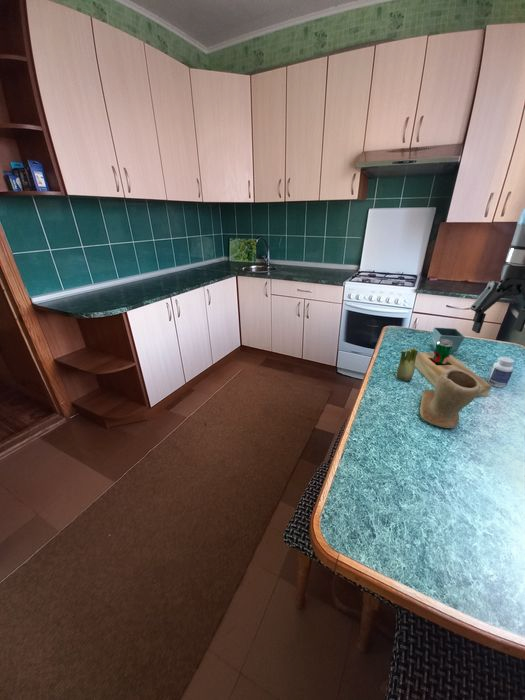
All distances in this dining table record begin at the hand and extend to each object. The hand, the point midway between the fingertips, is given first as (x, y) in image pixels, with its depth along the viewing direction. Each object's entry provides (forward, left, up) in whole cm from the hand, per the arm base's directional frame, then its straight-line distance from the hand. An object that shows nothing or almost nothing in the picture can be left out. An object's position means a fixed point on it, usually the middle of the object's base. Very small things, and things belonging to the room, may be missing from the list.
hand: (496, 331), depth 94 cm
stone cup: (+24, +18, -19) cm, 35 cm away
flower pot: (0, -22, -19) cm, 29 cm away
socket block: (+11, -2, -19) cm, 22 cm away
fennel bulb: (+26, -2, -19) cm, 32 cm away
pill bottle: (-4, +3, -19) cm, 20 cm away
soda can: (+11, -7, -19) cm, 23 cm away
